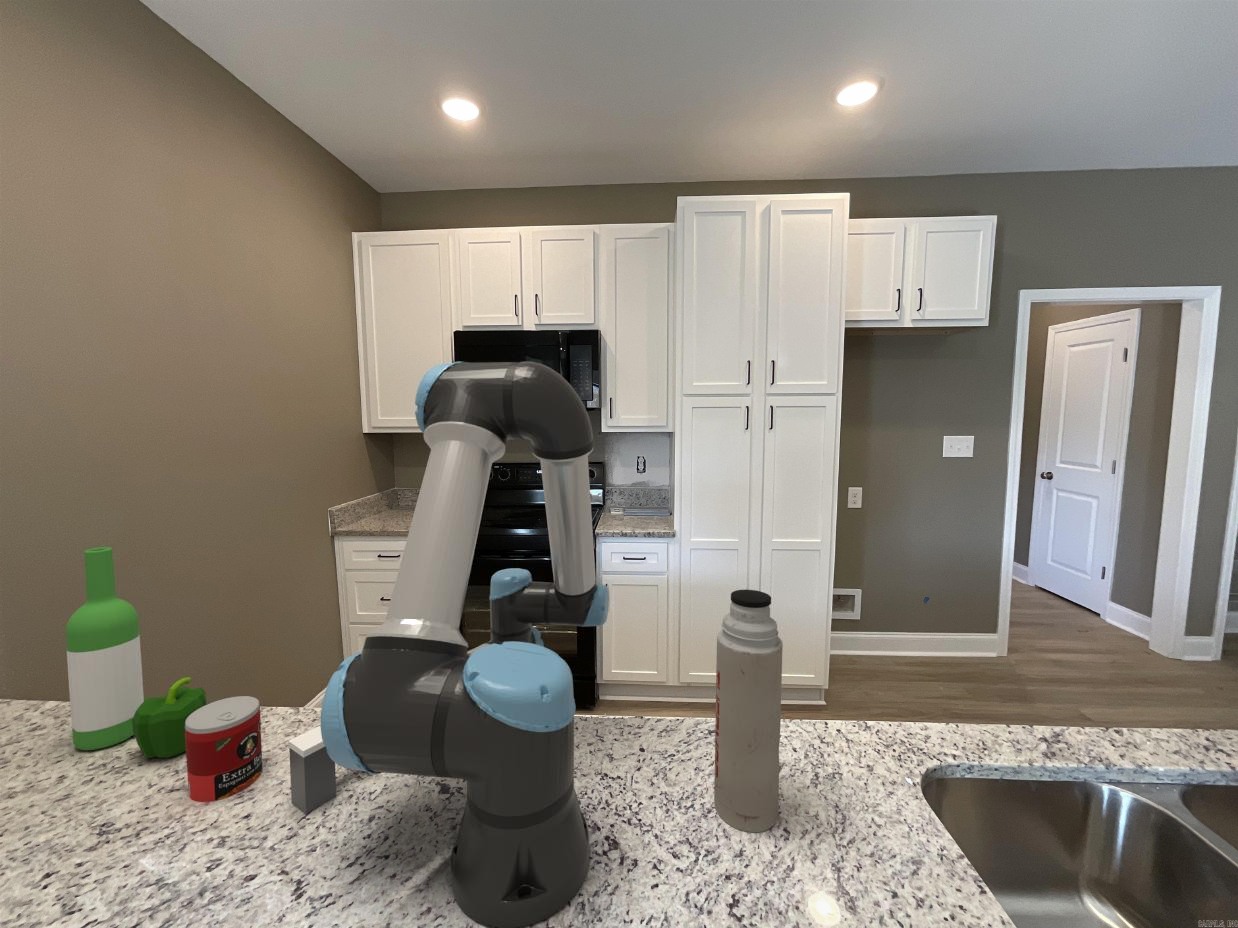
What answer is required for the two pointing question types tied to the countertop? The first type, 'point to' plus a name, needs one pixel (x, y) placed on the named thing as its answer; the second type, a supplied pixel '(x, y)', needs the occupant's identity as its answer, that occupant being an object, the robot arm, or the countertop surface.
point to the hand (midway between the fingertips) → (327, 751)
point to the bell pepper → (166, 720)
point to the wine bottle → (103, 659)
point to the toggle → (311, 771)
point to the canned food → (223, 748)
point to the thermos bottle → (748, 714)
